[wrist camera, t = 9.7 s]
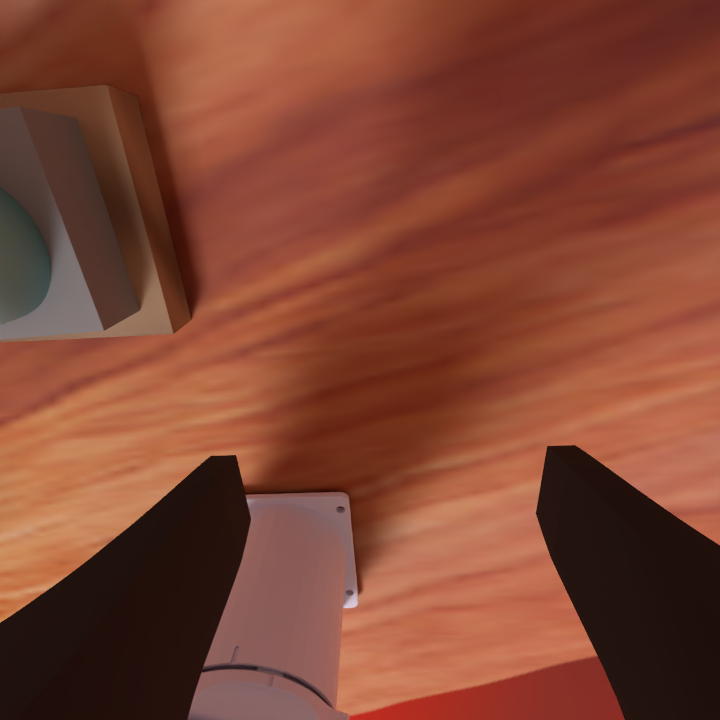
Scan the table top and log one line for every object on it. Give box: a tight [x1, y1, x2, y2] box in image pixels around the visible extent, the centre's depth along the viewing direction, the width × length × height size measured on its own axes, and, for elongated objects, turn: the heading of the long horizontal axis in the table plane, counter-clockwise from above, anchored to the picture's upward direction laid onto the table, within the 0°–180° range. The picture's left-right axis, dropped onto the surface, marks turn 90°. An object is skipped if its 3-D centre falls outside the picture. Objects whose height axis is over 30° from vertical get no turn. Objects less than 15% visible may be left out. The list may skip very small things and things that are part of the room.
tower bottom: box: [0, 85, 191, 342], centre depth 17 cm, size 9×9×2 cm
